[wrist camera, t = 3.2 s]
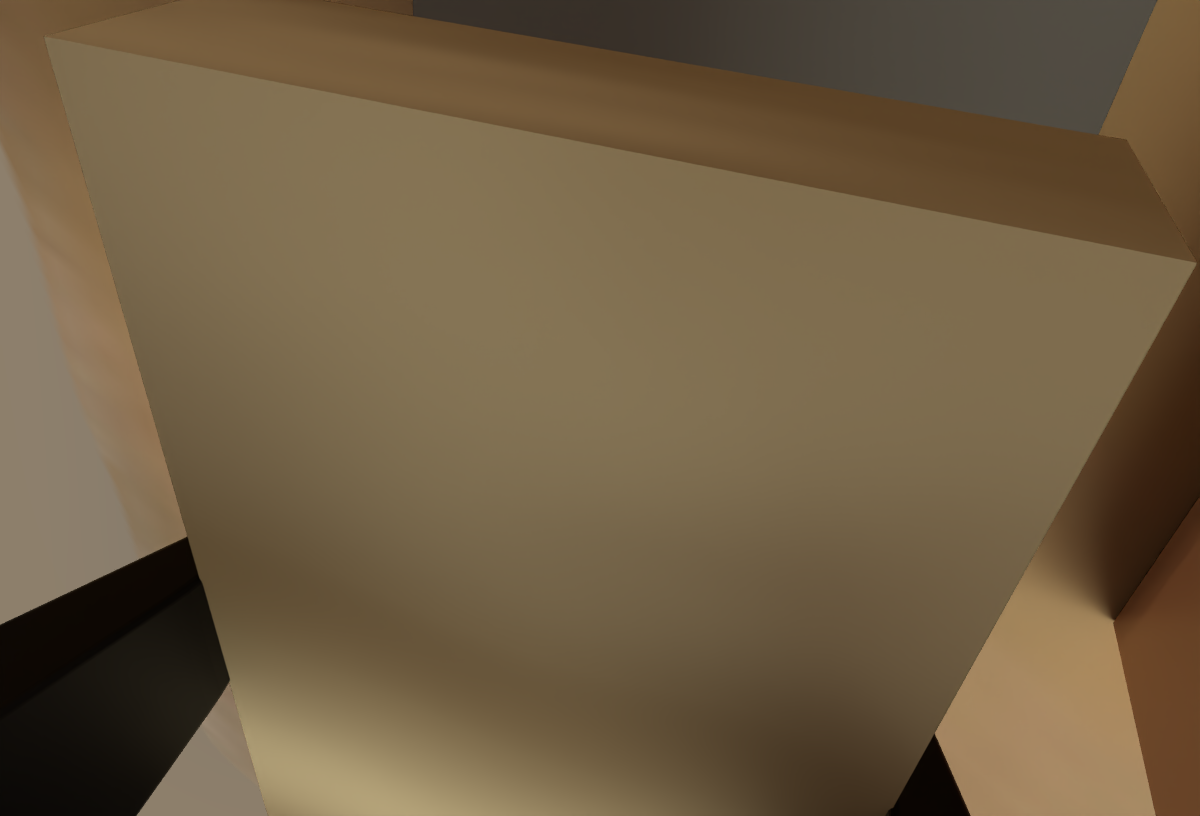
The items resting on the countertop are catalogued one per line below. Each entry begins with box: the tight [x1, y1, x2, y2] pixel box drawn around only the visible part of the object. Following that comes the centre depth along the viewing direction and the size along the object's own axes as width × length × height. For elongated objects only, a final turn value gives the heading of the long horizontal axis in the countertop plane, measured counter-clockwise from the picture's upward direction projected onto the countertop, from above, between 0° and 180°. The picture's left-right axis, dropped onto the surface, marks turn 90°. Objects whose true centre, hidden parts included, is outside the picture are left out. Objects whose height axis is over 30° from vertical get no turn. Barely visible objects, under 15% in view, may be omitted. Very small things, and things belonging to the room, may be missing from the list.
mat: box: [413, 0, 1157, 135], centre depth 14 cm, size 14×9×1 cm, turn 176°
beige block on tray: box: [44, 0, 1197, 816], centre depth 9 cm, size 12×7×2 cm, turn 176°
